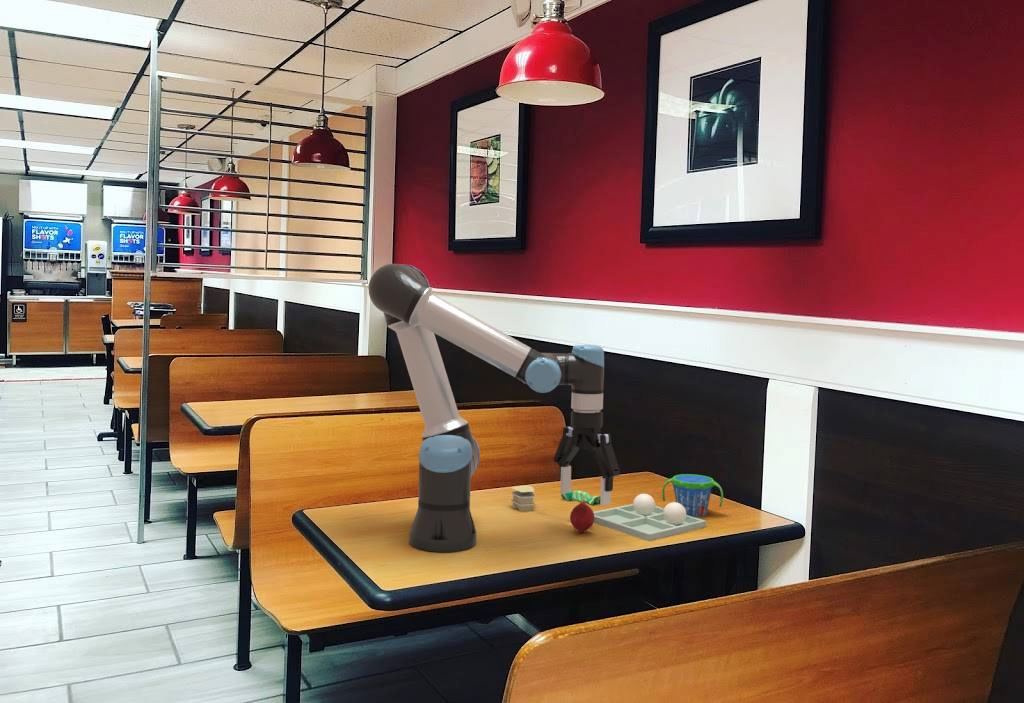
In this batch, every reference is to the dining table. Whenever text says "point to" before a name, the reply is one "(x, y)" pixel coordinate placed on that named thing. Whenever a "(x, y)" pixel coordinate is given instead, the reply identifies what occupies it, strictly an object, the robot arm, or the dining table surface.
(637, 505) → the egg far left
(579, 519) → the onion
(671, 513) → the egg far right
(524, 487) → the layered cracker stack
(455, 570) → the dining table surface
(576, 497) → the candy
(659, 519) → the egg tray
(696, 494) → the snack cup
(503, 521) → the dining table surface
